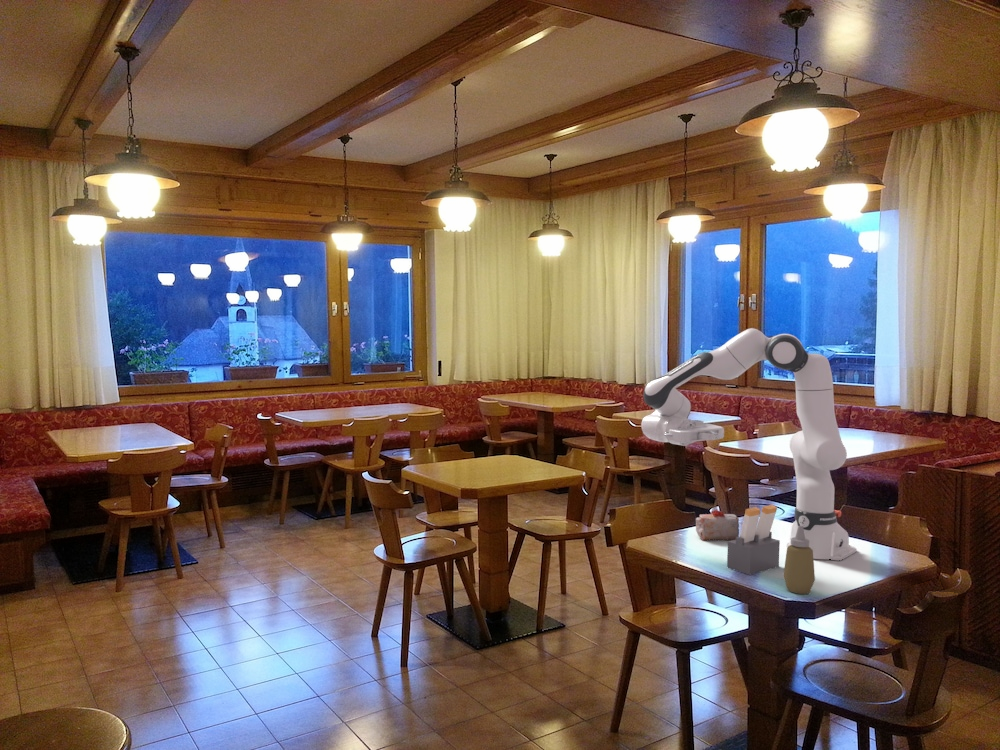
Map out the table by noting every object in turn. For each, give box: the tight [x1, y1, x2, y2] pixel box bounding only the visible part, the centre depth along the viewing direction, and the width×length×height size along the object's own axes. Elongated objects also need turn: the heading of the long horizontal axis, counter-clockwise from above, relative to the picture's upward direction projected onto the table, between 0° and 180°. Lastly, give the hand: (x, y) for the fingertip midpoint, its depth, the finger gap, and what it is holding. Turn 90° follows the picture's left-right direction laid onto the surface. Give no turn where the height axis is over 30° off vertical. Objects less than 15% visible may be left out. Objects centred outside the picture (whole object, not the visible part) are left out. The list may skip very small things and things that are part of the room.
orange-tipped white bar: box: [755, 504, 778, 539], centre depth 230 cm, size 5×2×10 cm, turn 125°
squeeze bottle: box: [782, 526, 816, 595], centre depth 209 cm, size 8×8×18 cm
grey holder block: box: [726, 531, 781, 576], centre depth 229 cm, size 14×8×10 cm, turn 125°
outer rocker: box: [739, 506, 762, 543], centre depth 226 cm, size 5×2×10 cm, turn 125°
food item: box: [695, 508, 740, 542], centre depth 260 cm, size 14×8×10 cm, turn 89°
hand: (716, 437), depth 237 cm, fingers closed
